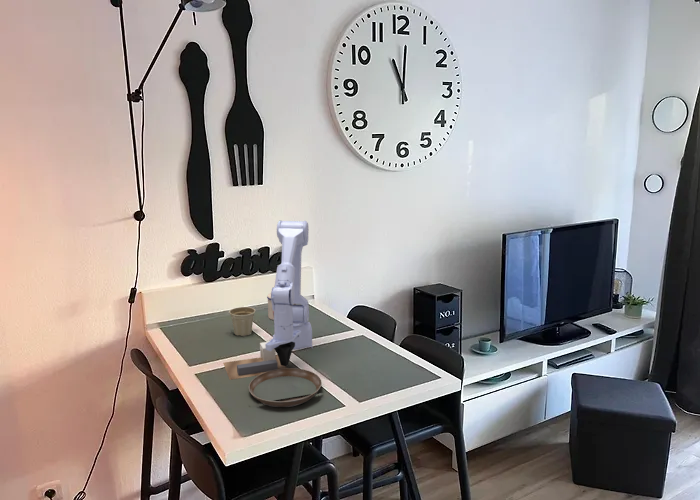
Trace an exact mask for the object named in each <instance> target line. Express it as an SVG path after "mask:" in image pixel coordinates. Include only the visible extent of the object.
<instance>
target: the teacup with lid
mask: <svg viewBox="0 0 700 500" xmlns="http://www.w3.org/2000/svg"><path fill="white" fill-rule="evenodd" d="M266 298H267V314H268V319H270V320H273V321H274V311H273V309H272V302H271V292H270V293H268V294H267V296H266ZM293 305H297V304H293Z"/></svg>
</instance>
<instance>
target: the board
mask: <svg viewBox="0 0 700 500" xmlns="http://www.w3.org/2000/svg"><path fill="white" fill-rule="evenodd" d="M261 361H263V358H261V357H260V356H258V357H254V358H246V359H239V360H232V361H225V362H223V363H222V364H223V366H224V369H225V371H226V374H227V377H228V380H230V381H231V380H238V379H244V378H251V377H257V376H258V375H260V374H262V373H265V372H261V373H254V374H248V375H241V376H239V375H238V373H237V365H241V364H248V363H254V362H261ZM276 361H277V363H278V369H283V368H288V367H287V366H282V365H281V364H280V360H279V357H278V355H277V354H276ZM267 372H268V371H267Z"/></svg>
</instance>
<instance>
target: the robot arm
mask: <svg viewBox="0 0 700 500" xmlns="http://www.w3.org/2000/svg"><path fill="white" fill-rule="evenodd" d="M276 236H277V238H278V241H279V243H280V244H281V263H280V264H279V265H277V267H276V273H275V279H274V280H275V281H274V287H272V288H271V292H270V293H271V302H272V309H273V311H274V320H273V328H274V333H273V335H272V338H271V339H270V340H269V341H267V342H268V343H266V344H265V346H266V350H268V351H272V349H275V351H276V355H278V357H279V360H280V364H281V365H282V366H286V367H287V366H289V363H290V360H291V355H292V353H293V350H294V351H295V350H301V349H305V348H311V349H314V348H313V329H312V324H311V322H310V321H309V318H310V306H309V300H308V299H307V298H306V297H305V296H304V295H302V294H301V293H302V292H301V290H302V288H301V287H302V253H303V249H304V247H305V246H307V245H308V244H309V222H308V221H307V220H301V221H300V220H299V221H298V220H279V221H278V222H277V224H276ZM294 304H296V305H294Z"/></svg>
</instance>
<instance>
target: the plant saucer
mask: <svg viewBox="0 0 700 500" xmlns="http://www.w3.org/2000/svg"><path fill="white" fill-rule="evenodd" d="M280 377H295V378H302V379H305V380H307V381H310V382H311V383H312V384H313V385H314V386H315V387H316V388H315V391H314V392H313V393H311V394H310V393H309V394H303V395H298V396H292V397H286V398H280V399H274V400H270V399H269V400H268V399H263V398H261V397H258V396H256V395H255V393H254V391H255V389H256V387H257V386H258V385H259V384H261V383H263V382H265V381H267V380H271V379H275V378H280ZM321 386H322V378H321V377H320V376H319V375H318V374H317V373H315V372H313V371H311V370H307V369H303V368H295V367H293V368H292V367H291V368H289V367H287V368H283V369H276V370H271V371H268V372H265V373H262V374H260V375H258V376H254V377H253V379H251V381H250V382H249V385H248V391H249V393H250V394H251V395H252V396H253V398H254V399H255V400H257V401H258V402H260V403H261V404H263V405H265V406H269V407H274V408H289V407H295V406H300V405H301V404H302V405H303V404H305V403H307V402H308V401H310V400H311V399H312V398H313V397H315V396H316V394H317V393H318V392H319V390H320V389H321Z"/></svg>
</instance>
